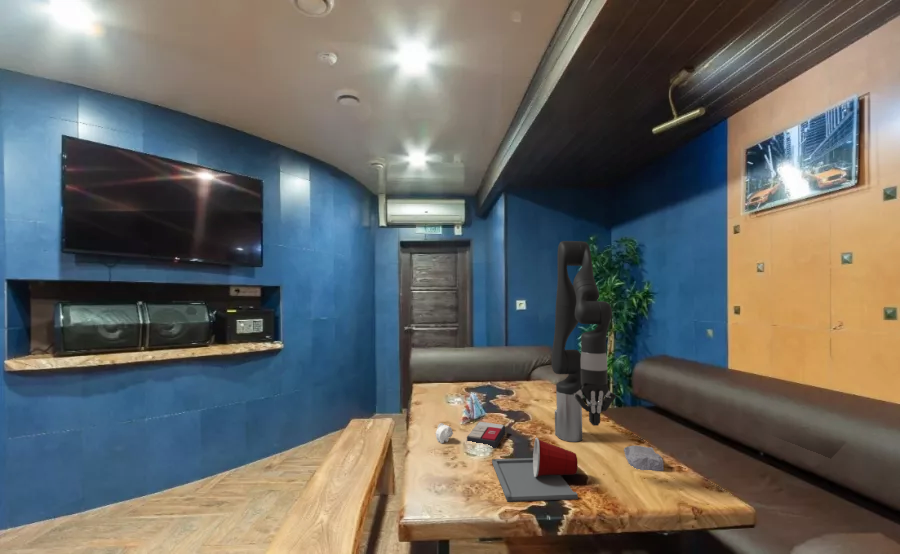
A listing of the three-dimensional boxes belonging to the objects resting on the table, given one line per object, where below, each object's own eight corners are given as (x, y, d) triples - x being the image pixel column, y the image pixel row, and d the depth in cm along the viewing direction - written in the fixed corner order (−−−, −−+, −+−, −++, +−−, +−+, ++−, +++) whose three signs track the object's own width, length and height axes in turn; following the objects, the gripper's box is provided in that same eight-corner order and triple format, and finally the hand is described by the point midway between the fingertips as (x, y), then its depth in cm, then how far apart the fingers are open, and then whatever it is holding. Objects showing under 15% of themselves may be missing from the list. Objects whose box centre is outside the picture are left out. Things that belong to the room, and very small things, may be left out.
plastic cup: (568, 448, 113) (530, 441, 114) (579, 440, 105) (538, 433, 106) (570, 486, 107) (530, 479, 108) (581, 481, 98) (538, 474, 99)
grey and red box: (466, 435, 130) (478, 419, 144) (466, 446, 130) (478, 430, 144) (495, 439, 126) (505, 423, 140) (496, 451, 126) (505, 434, 140)
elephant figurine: (457, 441, 133) (457, 425, 133) (440, 446, 128) (440, 430, 128) (447, 435, 138) (447, 420, 138) (430, 440, 133) (430, 424, 134)
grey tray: (549, 461, 116) (549, 457, 116) (577, 499, 94) (577, 494, 94) (492, 463, 115) (492, 459, 115) (507, 501, 93) (507, 497, 93)
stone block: (633, 476, 110) (667, 472, 109) (629, 460, 111) (663, 455, 109) (622, 460, 122) (653, 456, 120) (618, 446, 122) (649, 442, 121)
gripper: (608, 364, 112) (609, 419, 111) (567, 364, 111) (568, 420, 111) (621, 369, 104) (622, 429, 104) (577, 369, 104) (578, 430, 103)
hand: (594, 424), depth 107 cm, fingers closed
